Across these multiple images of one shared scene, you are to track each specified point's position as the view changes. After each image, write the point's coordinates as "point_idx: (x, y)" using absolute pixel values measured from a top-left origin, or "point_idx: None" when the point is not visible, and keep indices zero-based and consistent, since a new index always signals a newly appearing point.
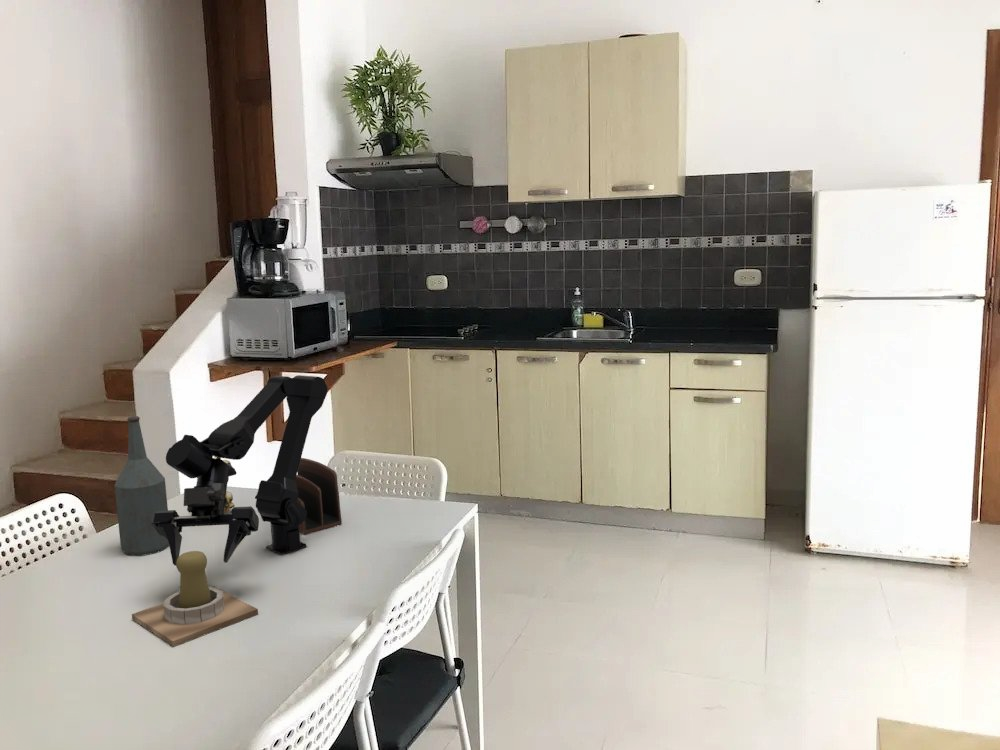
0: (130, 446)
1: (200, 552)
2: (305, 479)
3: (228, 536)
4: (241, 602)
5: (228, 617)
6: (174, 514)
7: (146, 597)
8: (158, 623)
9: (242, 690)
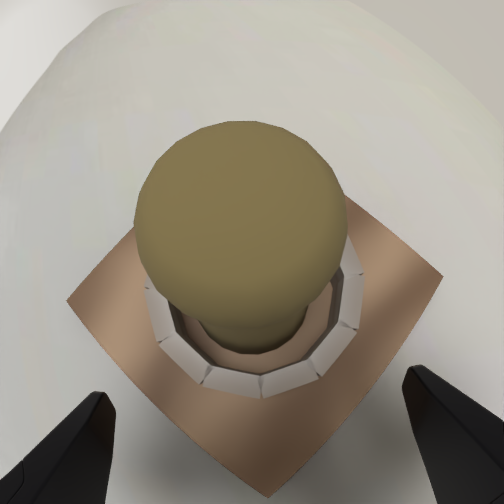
0: None
1: (166, 232)
2: None
3: (23, 501)
4: (119, 356)
5: (132, 248)
6: None
7: None
8: None
9: (95, 55)
